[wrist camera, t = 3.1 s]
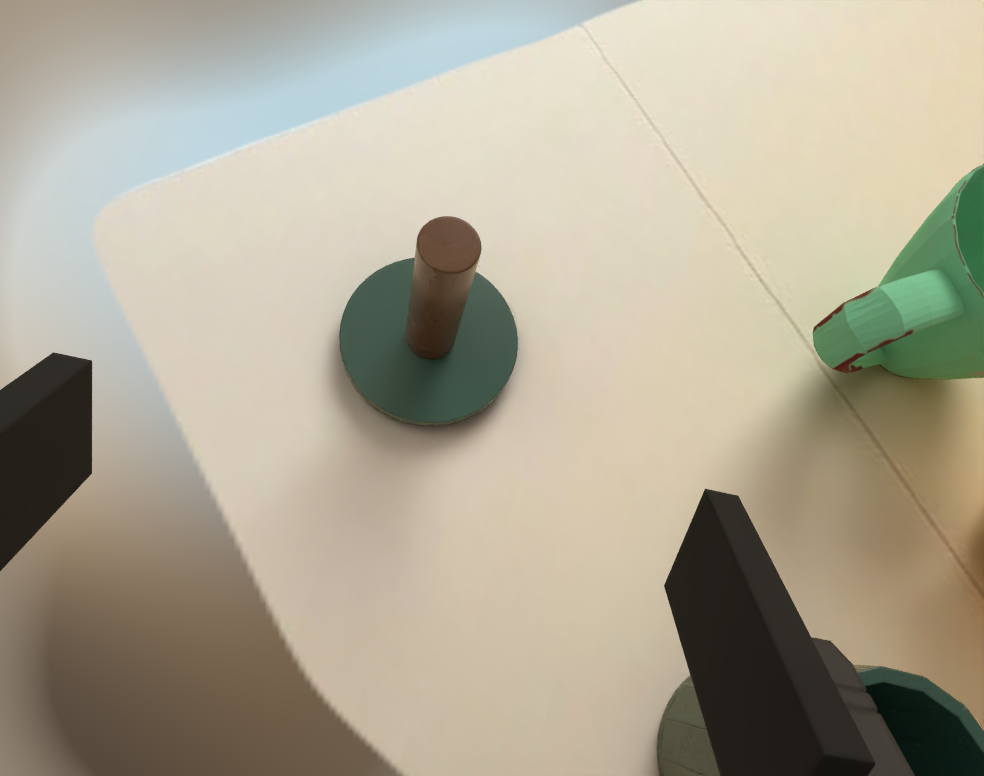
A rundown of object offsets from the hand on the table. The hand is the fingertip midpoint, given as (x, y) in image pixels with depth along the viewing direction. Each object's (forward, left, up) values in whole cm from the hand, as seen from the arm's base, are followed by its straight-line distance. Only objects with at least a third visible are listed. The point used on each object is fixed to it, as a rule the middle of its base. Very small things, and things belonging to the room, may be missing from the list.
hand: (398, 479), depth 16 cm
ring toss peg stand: (+4, +10, -18) cm, 21 cm away
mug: (+28, +7, -19) cm, 34 cm away
